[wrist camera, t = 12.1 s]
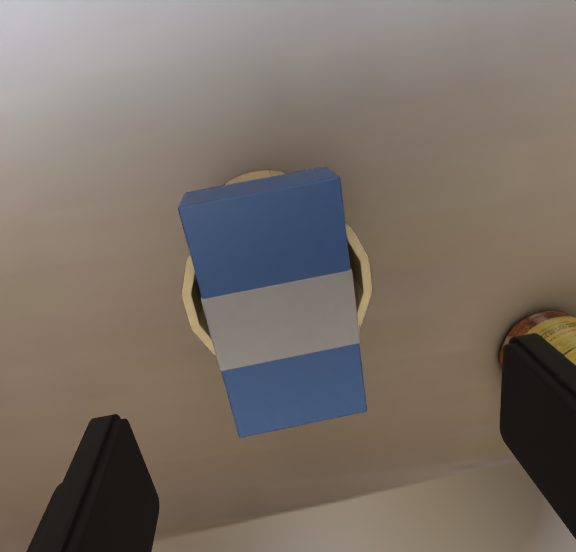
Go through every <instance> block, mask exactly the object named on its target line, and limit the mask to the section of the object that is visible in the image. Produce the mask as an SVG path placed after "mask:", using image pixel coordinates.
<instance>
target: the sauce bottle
mask: <svg viewBox="0 0 576 552" xmlns="http://www.w3.org/2000/svg"><path fill="white" fill-rule="evenodd" d="M532 333H537V334H539V335H540V336H542V337H543V338H544V339H545V340H546V341H547V342H549V343H550V344H551V345H552V346H553V347H555V348H556V349H557V350H558V351H559V352H561V353H562V354H563V355H564V356H565V357H566V358H568V359H569V360H570V361H571V362H572V363H574V364H575V365H576V317H572V316H570V315H568V314H565V313H562V312H558V311H544V312H540V313H537V314H533V315H532V316H529V317H526V318H524V319H523V320H522V321H520V322H519V323H517V324H516V325H514V326H513V327H512V330H511V331H510V332H509V334H508V335H507V337H506V339H505V341H504V344H503V345H502V348H501V350H500V355H499V356H500V365H501V367H502V364H503V348H504V346H505V345H506V344H509V340H510V339H511V338H512V337H516V336H521V335H526V334H532Z"/></svg>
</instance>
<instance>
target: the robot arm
mask: <svg viewBox="0 0 576 552" xmlns="http://www.w3.org/2000/svg"><path fill="white" fill-rule="evenodd" d="M500 432H501V436H502V438H503V440H504V442H505V444H506V445H507V446H508V448H509V449H510V450H511V452H512V453H513V454H514V456H515V457H516V459H517V460H518V461H519V463H520V464H521V465H522V466H523V468H524V469H525V471H526V472H527V473H528V475H529V476H530V478H531V479H532V480H533V482H534V483H535V484H536V486H537V487H538V488H539V490H540V491H541V492H542V494H543V495H544V497H545V498H546V499H547V500H548V502H549V503H550V505H551V506H552V507H553V509H554V510H555V512H556V513H557V514H558V516H559V517H560V518H561V520H562V521H563V523H564V524H565V525H566V527H567V528H568V529H569V531H570V532H571V533H572V535H573V536H574V537H575V539H576V365H575V364H574V363H572V362H571V361H570V360H569V359H568V358H566V357H565V356H564V355H563V354H562V353H561V352H559V351H558V350H557V349H556V348H555V347H553V346H552V345H551V344H550V343H549V342H547V341H546V340H545V339H544V338H543V337H542V336H540V335H539V334H537V333H532V334H526V335H521V336H516V337H512V338H511V339H510V340H509V344H506V345H505V346H504V348H503V364H502V386H501V409H500ZM158 514H159V498H158V495H157V492H156V489H155V487H154V484H153V482H152V479H151V477H150V474H149V472H148V469H147V467H146V464H145V462H144V459H143V457H142V454H141V452H140V449H139V447H138V444H137V442H136V439H135V437H134V434H133V432H132V429H131V427H130V424H129V422H128V420H127V419H121V418H120V417H119V416H118V415H117V414H114V415H109V416H104V417H98V418H93V419H92V420H91V421H90V422H89V424H88V426H87V429H86V431H85V433H84V435H83V438H82V440H81V442H80V444H79V447H78V449H77V451H76V453H75V456H74V458H73V460H72V462H71V464H70V467H69V469H68V471H67V473H66V476H65V478H64V480H63V482H62V483H61V484H60V485H59V486H57V488H56V490H55V491H54V493H53V495H52V497H51V500H50V502H49V504H48V506H47V508H46V510H45V513H44V515H43V517H42V519H41V521H40V524H39V526H38V528H37V530H36V532H35V534H34V537H33V539H32V541H31V543H30V545H29V548H28V550H27V552H151V550H152V545H153V540H154V535H155V530H156V525H157V519H158Z"/></svg>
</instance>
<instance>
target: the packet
mask: <svg viewBox="0 0 576 552" xmlns="http://www.w3.org/2000/svg"><path fill="white" fill-rule="evenodd" d="M178 210H179V214H180V218H181V222H182V225H183V229H184V233H185V237H186V240H187V244H188V248H189V252H190V255H191V259H192V263H193V266H194V270H195V274H196V278H197V281H198V285H199V289H200V293H201V296H202V297H201V302H202V306H203V310H204V313H205V317H206V321H207V325H208V328H209V332H210V336H211V339H212V343H213V347H214V351H215V354H216V358H217V362H218V365H219V369H220V371H222V375H223V379H224V383H225V386H226V390H227V394H228V397H229V401H230V405H231V409H232V412H233V416H234V420H235V424H236V427H237V431H238V435H239V437H240V438H241V437H246V436H251V435H256V434H260V433H265V432H270V431H275V430H280V429H284V428H289V427H294V426H299V425H303V424H308V423H313V422H318V421H323V420H327V419H332V418H337V417H342V416H347V415H351V414H356V413H361V412H366V411H367V406H366V398H365V389H364V381H363V372H362V363H361V355H360V346H359V343H360V334H359V326H358V317H357V308H356V299H355V291H354V282H353V273H352V269H351V268H350V260H349V252H348V243H347V234H346V226H345V217H344V209H343V200H342V191H341V183H340V178H339V177H338V176H337V175H336V174H335V173H333V172H332V171H331V170H330V169H328V168H327V167H320V168H314V169H309V170H304V171H298V172H293V173H288V174H282V175H277V176H271V177H266V178H261V179H255V180H250V181H245V182H239V183H234V184H228V185H223V186H218V187H212V188H207V189H202V190H196V191H191V192H186V193H185V195H184V197H183V199H182V201H181V203H180V205H179V207H178Z"/></svg>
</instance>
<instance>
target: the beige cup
mask: <svg viewBox="0 0 576 552" xmlns="http://www.w3.org/2000/svg"><path fill="white" fill-rule="evenodd" d="M282 174H288V173H285V172H281V171H274V170H261V171H254V172H250V173H246V174H243V175H240V176H238V177H236V178H234V179H232V180H230V181H229V182H227V183H226V184H224V185H228V184H234V183H239V182H245V181H250V180H255V179H261V178H266V177H271V176H277V175H282ZM345 226H346V234H347V243H348V252H349V260H350V268H351V269H352V273H353V282H354V291H355V299H356V308H357V317H358V326H359V327H360V325H361V323H362V322H363V319H364V316H365V313H366V310H367V306H368V303H369V300H370V297H371V294H372V284H371V273H370V263H369V257H368V256H367V254H366V252H365V250H364V249H363V247H362V245H361V244H360V242H359V240H358V238H357V237H356V235H355V233H354V232H353V230H352V228H351V227H350V226H349V225H348V224H347V223H346V221H345ZM201 297H202V296H201V293H200V289H199V285H198V281H197V278H196V274H195V270H194V266H193V263H192V259H191V255H190V252H189V255H188V258H187V263H186V269H185V275H184V281H183V288H182V299H183V302H184V306H185V309H186V313H187V316H188V319H189V323H190V326H191V328H192V330H193V331H194V332H195V333H196V334H197V336H198V337H199V338H200V339H201V340H202V342H203V343H204V344H205V345H206V346H207V347H208V349H209V350H210V351H211V352H212V353H213V354H214V355H216V354H215V351H214V347H213V343H212V339H211V336H210V332H209V328H208V325H207V321H206V317H205V313H204V310H203V306H202V302H201Z"/></svg>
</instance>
